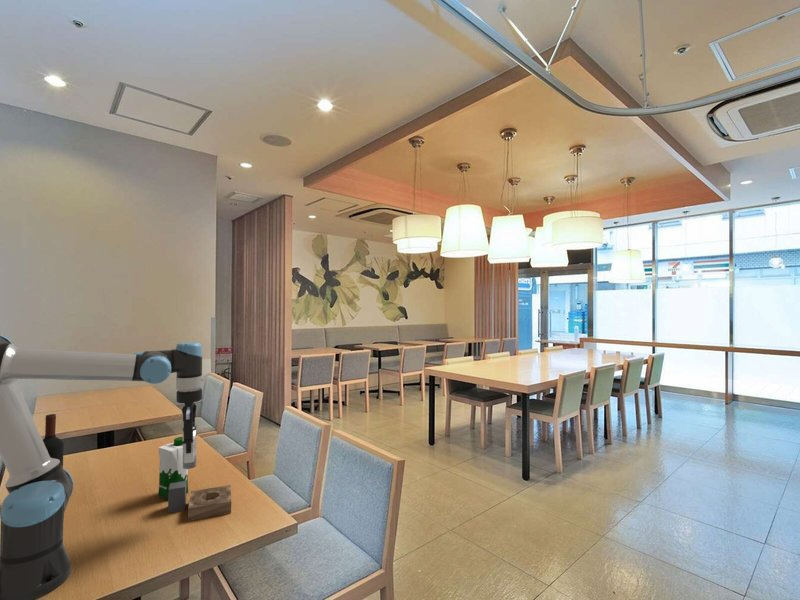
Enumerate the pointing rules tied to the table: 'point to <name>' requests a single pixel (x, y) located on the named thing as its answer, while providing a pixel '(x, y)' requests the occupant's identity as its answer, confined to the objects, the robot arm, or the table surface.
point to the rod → (192, 464)
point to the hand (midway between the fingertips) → (189, 459)
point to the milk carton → (171, 466)
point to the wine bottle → (53, 439)
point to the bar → (177, 497)
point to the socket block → (209, 502)
